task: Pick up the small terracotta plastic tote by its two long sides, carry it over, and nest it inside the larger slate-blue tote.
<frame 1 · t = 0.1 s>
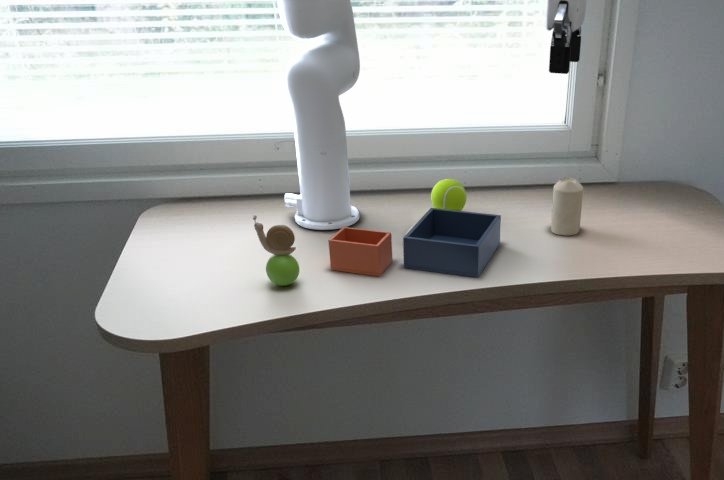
hand: (564, 66, 137), 31 cm above the table, tool pointing down, fingers open, 9 cm apart
tennis ball: (448, 214, 167), on the table
big tote: (453, 255, 149), on the table
snail figurine: (281, 285, 139), on the table
candle: (564, 231, 160), on the table
small tote: (362, 265, 145), on the table
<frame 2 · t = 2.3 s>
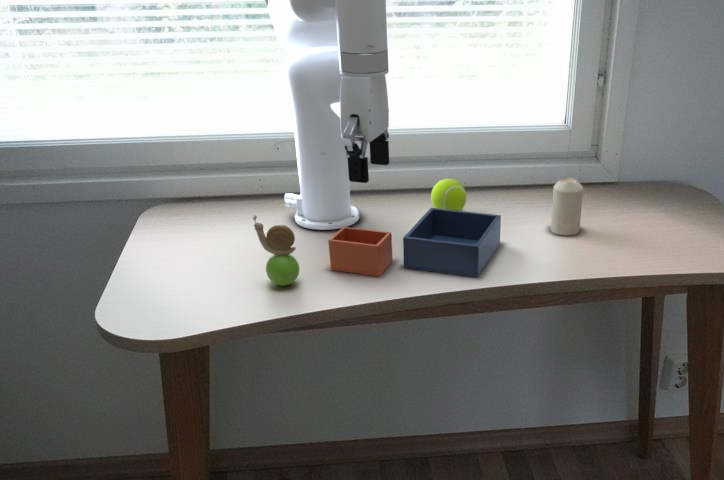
hand: (369, 172, 137), 16 cm above the table, tool pointing down, fingers open, 9 cm apart
nothing on the table moved.
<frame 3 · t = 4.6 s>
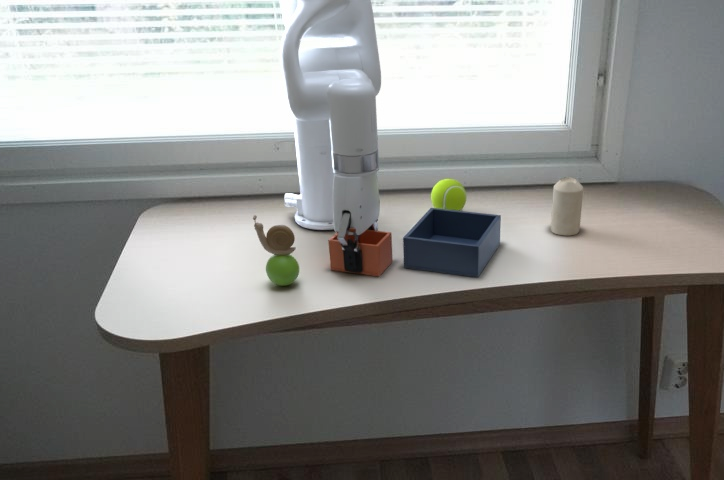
hand: (361, 262, 145), 1 cm above the table, tool pointing down, fingers closed on small tote, 6 cm apart
small tote: (361, 265, 145), on the table, touching gripper
everything else where it was.
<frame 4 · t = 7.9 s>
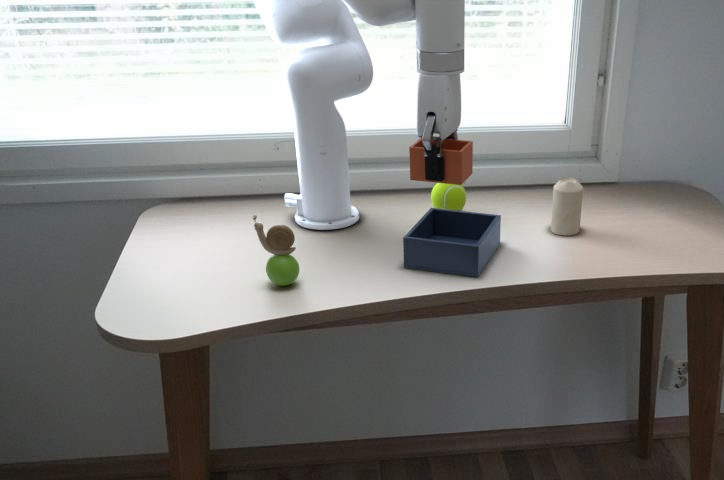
hand: (441, 172, 140), 15 cm above the table, tool pointing down, fingers closed on small tote, 6 cm apart
small tote: (441, 176, 141), point 15 cm above the table, touching gripper
everything else where it was.
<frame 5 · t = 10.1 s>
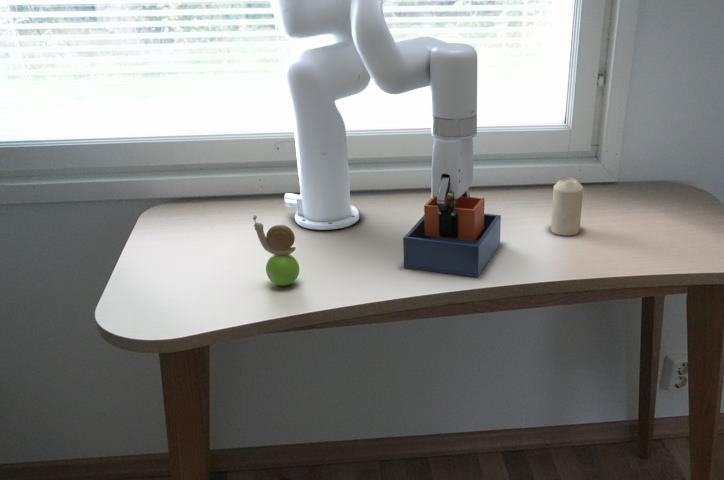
hand: (454, 228, 146), 5 cm above the table, tool pointing down, fingers closed on small tote, 6 cm apart
small tote: (454, 232, 147), point 5 cm above the table, touching gripper
everything else where it was.
when the fingers open (1 cm above the table, at t = 11.7 s): small tote stays where it is, resting on big tote.
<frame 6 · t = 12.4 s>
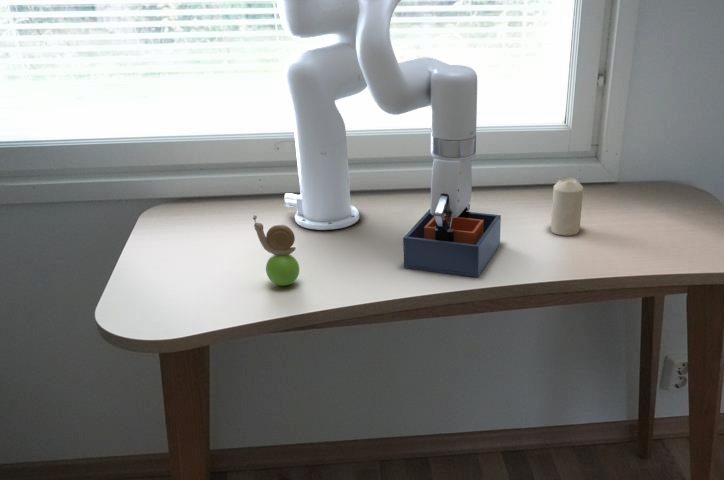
hand: (452, 242, 148), 3 cm above the table, tool pointing down, fingers open, 9 cm apart
small tote: (454, 252, 149), point 1 cm above the table, touching big tote
everything else where it was.
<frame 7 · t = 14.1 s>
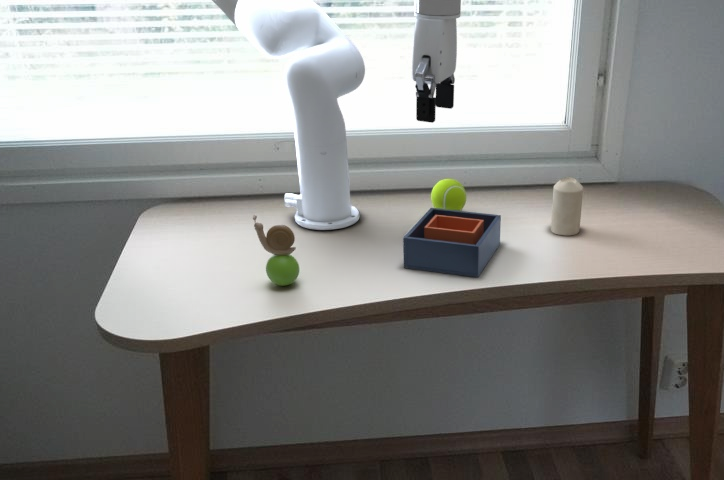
hand: (435, 114, 144), 23 cm above the table, tool pointing down, fingers open, 9 cm apart
nothing on the table moved.
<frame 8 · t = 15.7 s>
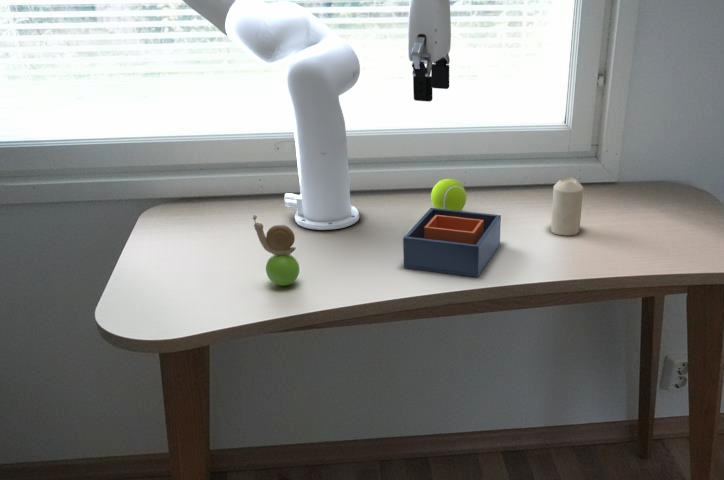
hand: (431, 94, 145), 25 cm above the table, tool pointing down, fingers open, 9 cm apart
nothing on the table moved.
at the end: small tote 0.2 cm off-centre in the big tote, point 0.6 cm above the big tote's base; small tote tilted 0°; the gripper is holding nothing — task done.
